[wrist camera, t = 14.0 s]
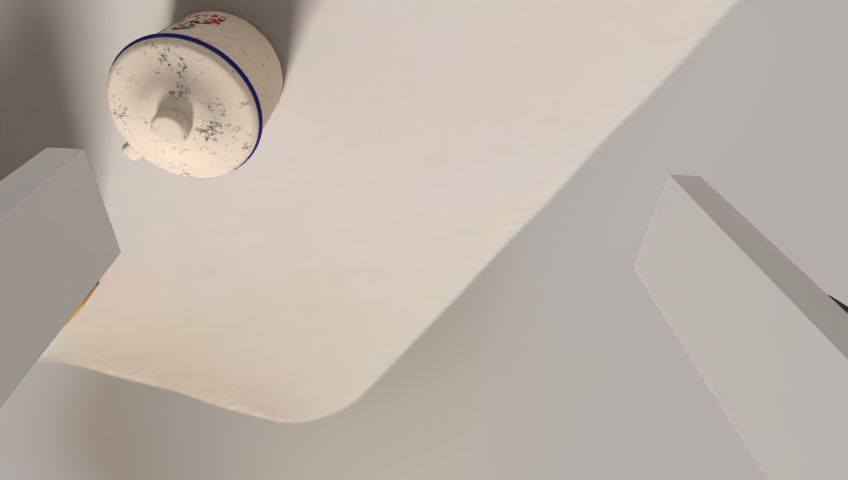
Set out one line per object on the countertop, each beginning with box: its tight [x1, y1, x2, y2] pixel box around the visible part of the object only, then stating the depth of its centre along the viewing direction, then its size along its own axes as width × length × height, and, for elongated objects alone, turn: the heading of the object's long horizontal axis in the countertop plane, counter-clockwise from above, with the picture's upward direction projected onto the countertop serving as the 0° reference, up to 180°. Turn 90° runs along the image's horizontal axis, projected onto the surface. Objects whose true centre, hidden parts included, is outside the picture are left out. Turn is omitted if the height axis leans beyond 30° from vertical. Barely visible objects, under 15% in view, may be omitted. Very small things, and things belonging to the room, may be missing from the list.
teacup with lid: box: [107, 11, 283, 178], centre depth 33 cm, size 12×9×12 cm
